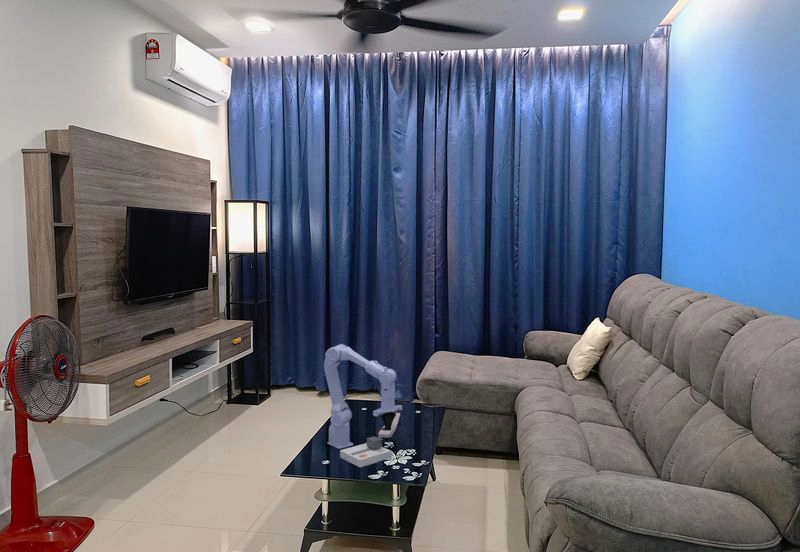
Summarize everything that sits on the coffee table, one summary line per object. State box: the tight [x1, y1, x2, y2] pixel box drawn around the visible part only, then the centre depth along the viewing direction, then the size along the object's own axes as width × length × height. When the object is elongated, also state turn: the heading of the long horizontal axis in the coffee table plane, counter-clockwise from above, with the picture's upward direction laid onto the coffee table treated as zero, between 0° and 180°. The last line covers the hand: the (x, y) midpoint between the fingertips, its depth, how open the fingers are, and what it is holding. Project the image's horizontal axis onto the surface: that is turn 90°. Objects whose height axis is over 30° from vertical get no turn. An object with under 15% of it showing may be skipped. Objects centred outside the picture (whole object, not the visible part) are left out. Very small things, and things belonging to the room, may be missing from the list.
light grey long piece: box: [377, 412, 401, 439], centre depth 273 cm, size 6×6×25 cm
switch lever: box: [366, 436, 383, 450], centre depth 243 cm, size 4×5×4 cm
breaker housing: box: [339, 442, 392, 468], centre depth 240 cm, size 16×14×3 cm
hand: (387, 429), depth 247 cm, fingers closed
